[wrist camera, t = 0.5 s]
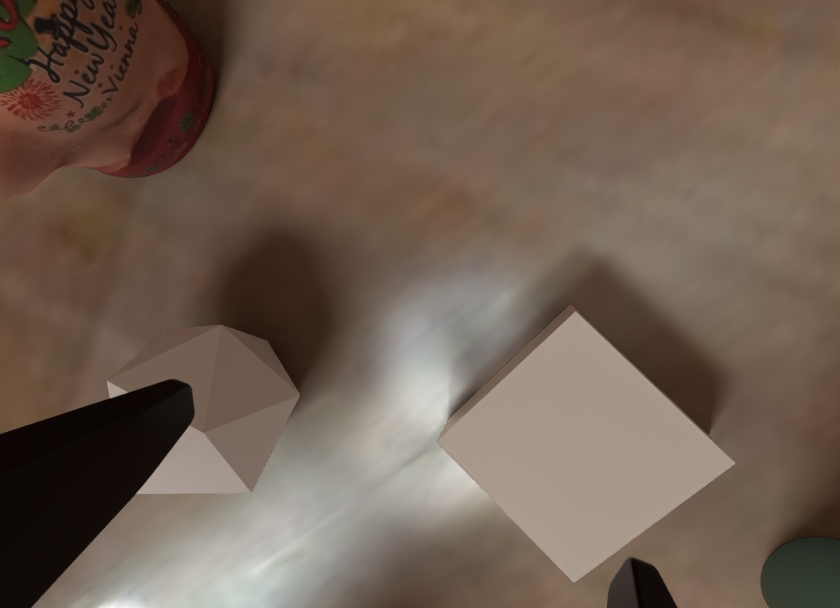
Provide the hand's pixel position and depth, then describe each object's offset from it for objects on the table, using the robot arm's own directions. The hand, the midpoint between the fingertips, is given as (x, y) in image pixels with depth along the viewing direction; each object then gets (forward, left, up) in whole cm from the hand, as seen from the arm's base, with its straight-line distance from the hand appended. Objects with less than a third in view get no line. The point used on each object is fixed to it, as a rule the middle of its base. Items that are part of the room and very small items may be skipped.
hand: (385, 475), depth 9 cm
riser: (0, -7, -16) cm, 17 cm away
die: (-12, +7, -16) cm, 21 cm away
